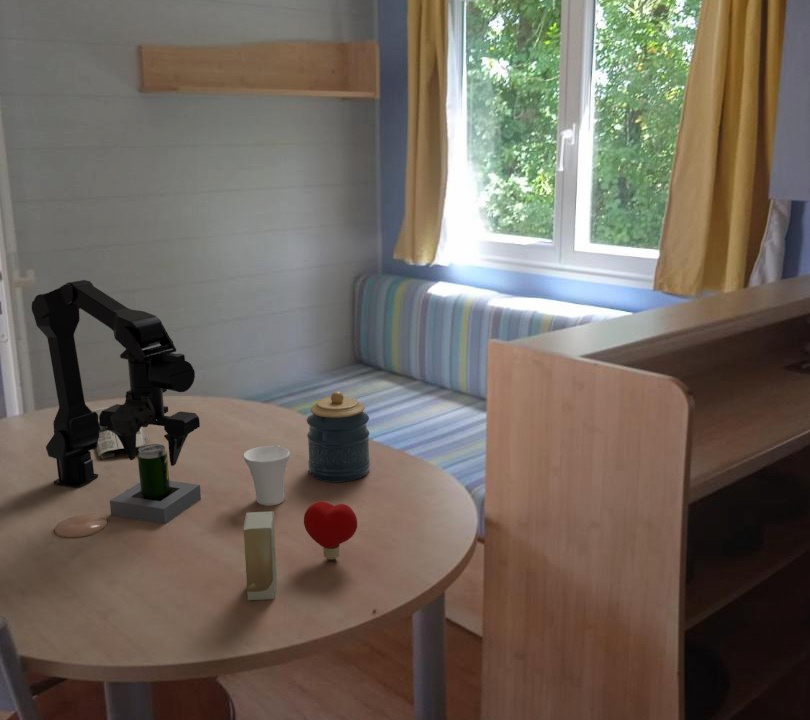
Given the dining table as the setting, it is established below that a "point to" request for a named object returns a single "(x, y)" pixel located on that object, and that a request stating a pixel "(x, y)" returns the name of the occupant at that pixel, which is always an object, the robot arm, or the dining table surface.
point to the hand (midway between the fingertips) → (152, 462)
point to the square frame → (155, 503)
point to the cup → (268, 472)
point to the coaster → (80, 526)
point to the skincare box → (260, 555)
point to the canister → (338, 439)
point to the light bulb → (330, 526)
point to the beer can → (153, 472)
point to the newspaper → (115, 439)
